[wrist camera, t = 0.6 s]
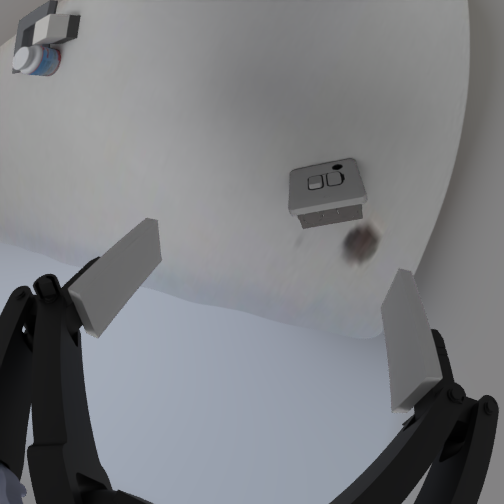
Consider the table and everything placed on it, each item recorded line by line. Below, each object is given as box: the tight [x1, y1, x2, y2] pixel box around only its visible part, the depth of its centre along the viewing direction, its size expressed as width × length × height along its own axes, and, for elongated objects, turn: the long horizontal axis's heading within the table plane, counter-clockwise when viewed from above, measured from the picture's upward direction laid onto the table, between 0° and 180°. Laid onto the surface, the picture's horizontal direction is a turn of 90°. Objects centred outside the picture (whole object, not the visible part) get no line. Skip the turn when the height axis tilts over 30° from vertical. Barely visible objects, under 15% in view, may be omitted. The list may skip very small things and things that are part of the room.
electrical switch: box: [288, 159, 367, 229], centre depth 34 cm, size 9×5×9 cm, turn 109°
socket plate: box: [12, 0, 58, 74], centre depth 29 cm, size 15×14×2 cm
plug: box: [32, 14, 80, 45], centre depth 26 cm, size 5×5×8 cm
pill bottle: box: [12, 45, 61, 76], centre depth 29 cm, size 6×6×11 cm
